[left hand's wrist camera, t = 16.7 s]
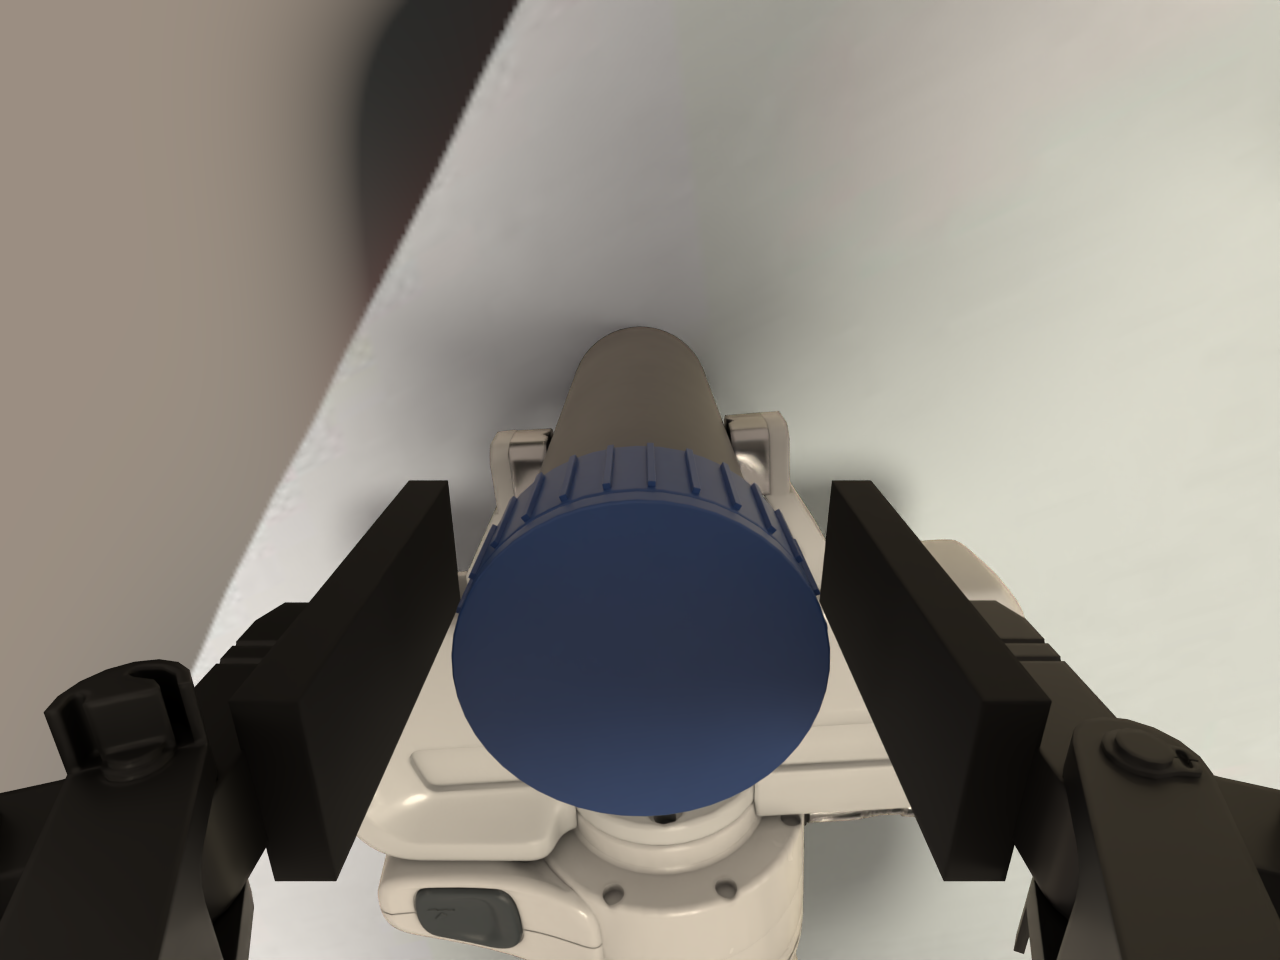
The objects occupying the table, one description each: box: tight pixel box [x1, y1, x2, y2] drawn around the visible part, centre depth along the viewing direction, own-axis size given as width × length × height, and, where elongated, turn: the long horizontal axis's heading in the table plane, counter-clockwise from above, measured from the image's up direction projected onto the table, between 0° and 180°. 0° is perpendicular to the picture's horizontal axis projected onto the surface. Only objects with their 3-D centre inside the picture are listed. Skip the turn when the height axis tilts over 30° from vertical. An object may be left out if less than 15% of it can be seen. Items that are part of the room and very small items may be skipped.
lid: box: [451, 443, 830, 816], centre depth 11 cm, size 6×6×2 cm
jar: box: [539, 327, 744, 479], centre depth 18 cm, size 5×5×15 cm
